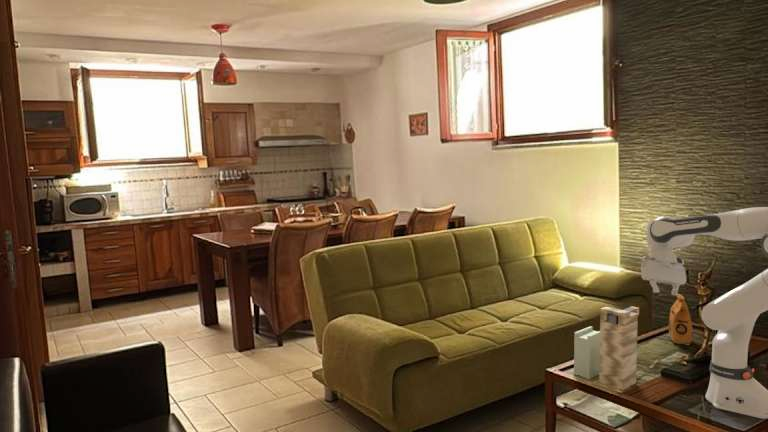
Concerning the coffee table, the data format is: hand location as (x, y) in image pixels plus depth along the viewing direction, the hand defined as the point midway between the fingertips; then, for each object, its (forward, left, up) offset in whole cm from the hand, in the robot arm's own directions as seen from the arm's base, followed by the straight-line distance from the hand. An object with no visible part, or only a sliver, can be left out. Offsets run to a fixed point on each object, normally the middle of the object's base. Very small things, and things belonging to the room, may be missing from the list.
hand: (665, 293), depth 222 cm
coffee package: (+17, -54, -37) cm, 67 cm away
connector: (+12, +8, -11) cm, 18 cm away
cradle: (+25, +11, -36) cm, 46 cm away
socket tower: (+12, +12, -36) cm, 40 cm away
